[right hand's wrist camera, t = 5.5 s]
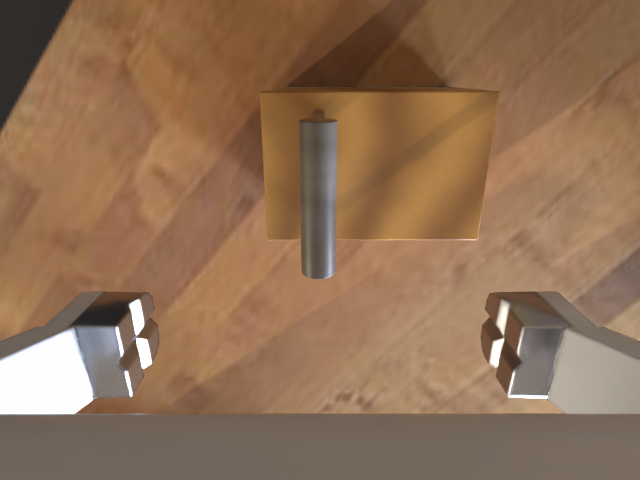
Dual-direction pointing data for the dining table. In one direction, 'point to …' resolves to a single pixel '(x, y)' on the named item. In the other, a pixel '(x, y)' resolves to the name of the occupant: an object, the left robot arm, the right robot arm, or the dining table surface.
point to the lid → (374, 167)
